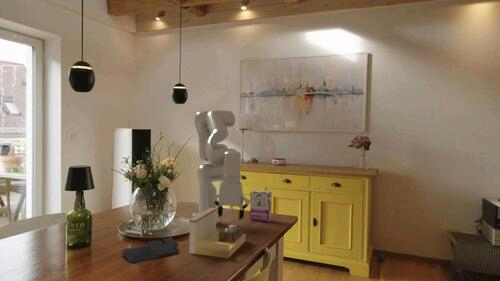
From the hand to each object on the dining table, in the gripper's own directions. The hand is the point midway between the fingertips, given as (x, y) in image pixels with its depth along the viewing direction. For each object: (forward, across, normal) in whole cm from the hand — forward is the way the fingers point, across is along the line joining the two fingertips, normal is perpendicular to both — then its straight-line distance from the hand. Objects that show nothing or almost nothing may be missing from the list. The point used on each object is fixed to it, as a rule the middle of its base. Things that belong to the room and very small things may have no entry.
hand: (230, 217), depth 158 cm
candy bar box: (+14, +2, +42) cm, 45 cm away
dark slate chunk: (+13, -27, -22) cm, 37 cm away
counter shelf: (+12, -4, -6) cm, 14 cm away
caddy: (+9, +1, -1) cm, 9 cm away
